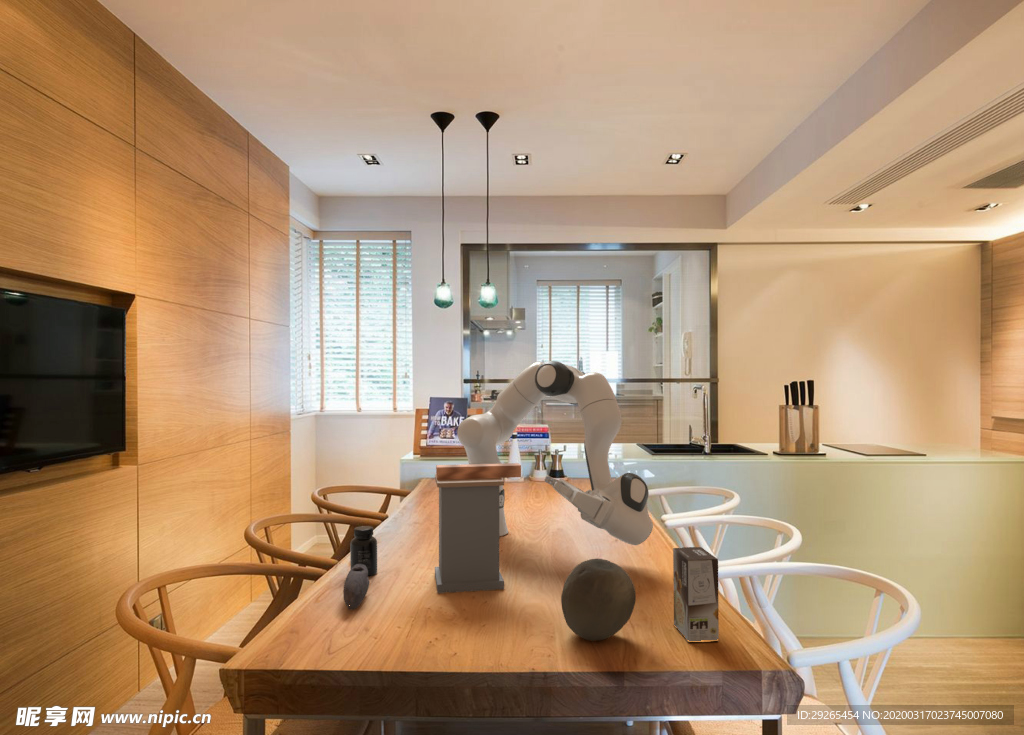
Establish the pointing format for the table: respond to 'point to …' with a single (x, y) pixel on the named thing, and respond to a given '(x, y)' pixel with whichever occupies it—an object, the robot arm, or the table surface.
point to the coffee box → (696, 593)
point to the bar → (478, 471)
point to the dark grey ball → (597, 599)
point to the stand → (468, 535)
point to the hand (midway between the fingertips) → (549, 481)
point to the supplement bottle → (364, 549)
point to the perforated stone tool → (356, 586)
